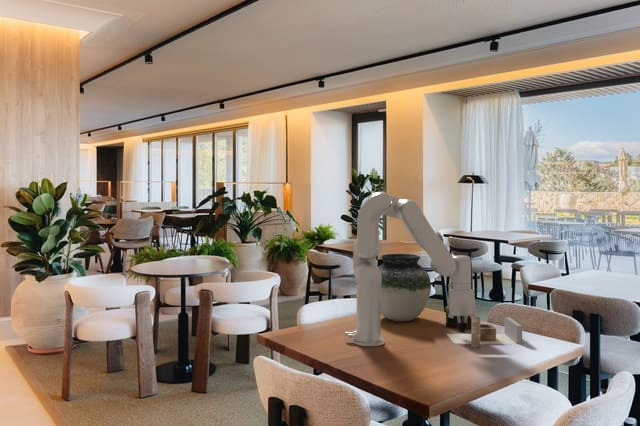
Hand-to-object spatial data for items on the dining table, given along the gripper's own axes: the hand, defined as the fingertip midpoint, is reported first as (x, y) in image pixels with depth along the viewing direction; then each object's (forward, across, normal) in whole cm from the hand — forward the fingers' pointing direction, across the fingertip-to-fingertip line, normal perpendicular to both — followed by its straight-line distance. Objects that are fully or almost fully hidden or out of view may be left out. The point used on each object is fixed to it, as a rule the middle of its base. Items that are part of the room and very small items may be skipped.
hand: (461, 331), depth 207 cm
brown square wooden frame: (+3, +9, 0) cm, 9 cm away
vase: (+4, -20, +37) cm, 42 cm away
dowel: (+4, +2, -11) cm, 12 cm away
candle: (+4, +4, +20) cm, 21 cm away
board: (+4, +8, 0) cm, 9 cm away
